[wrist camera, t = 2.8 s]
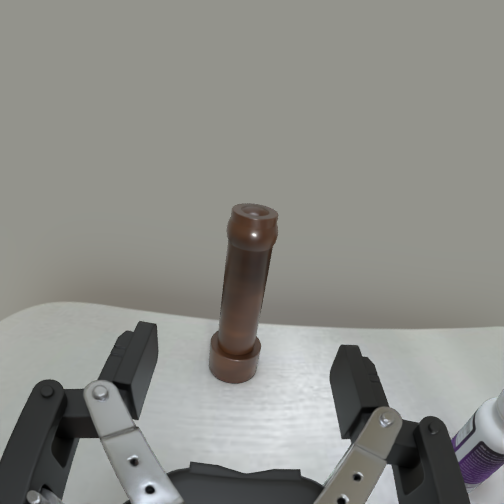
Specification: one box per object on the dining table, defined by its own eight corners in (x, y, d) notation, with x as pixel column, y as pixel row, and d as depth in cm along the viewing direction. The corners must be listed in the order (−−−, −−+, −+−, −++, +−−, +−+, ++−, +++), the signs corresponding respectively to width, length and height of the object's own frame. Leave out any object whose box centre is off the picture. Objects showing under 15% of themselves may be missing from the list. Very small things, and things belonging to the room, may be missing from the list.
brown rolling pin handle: (218, 388, 26) (238, 219, 19) (202, 354, 30) (215, 197, 23) (264, 377, 28) (299, 217, 21) (244, 346, 31) (269, 196, 25)
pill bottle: (486, 484, 16) (558, 414, 12) (443, 504, 15) (523, 435, 11) (465, 442, 21) (525, 368, 17) (423, 455, 20) (487, 378, 16)
